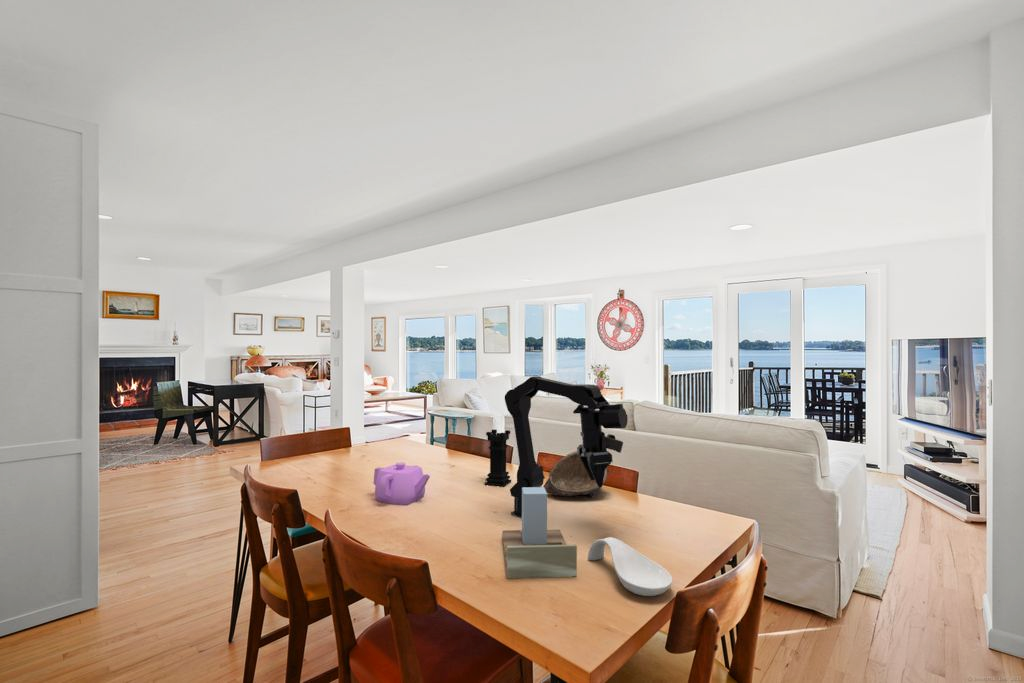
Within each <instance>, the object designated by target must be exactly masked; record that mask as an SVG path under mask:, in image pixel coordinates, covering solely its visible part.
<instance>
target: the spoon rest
mask: <svg viewBox="0 0 1024 683" xmlns="http://www.w3.org/2000/svg"><path fill="white" fill-rule="evenodd" d="M606 545H607V546H608V548H609V549H610V553H611V557H612V561H613V562H612V564H613V567H614V571H615V573H616V576H617V578H618V579H619V581H620V583H621V585H623V587H624V588H625V589H626V590H628V591H629V592H631V593H633V594H635V595H637V594H638V596H641V595H642V596H643V597H655V596H658V595H661V594H663V593H665V592H666V591H667V590H668V589H670V587H671V586H672V585H673V577H672V575H671V573H670V572H669V571H668V570H667V569H666V568H664V567H663V566H661V565H660V564H658V563H657V562H655V561H654V560H652V559H650V558H649V557H647V556H645V555H644V554H642V553H641V552H639V551H637V550H636V549H634V548H633V547H631V546H629V545H628V544H626V543H625V542H623V541H621V540H620V539H619V538H615V537H611V536H609V537H605V538H599V539H596V540H595V541H594V542H593V543H592V544H591V545H590V547H589V550H588V554H587V560H588V561H590V560H594V561H597V559H598V560H602V559H604V558H605V556H604V555H605V546H606ZM601 558H602V559H601Z"/></svg>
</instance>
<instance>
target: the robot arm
mask: <svg viewBox="0 0 1024 683" xmlns="http://www.w3.org/2000/svg"><path fill="white" fill-rule="evenodd" d="M538 392H543V393H544V392H545V393H548V394H552V395H556V396H561V397H565V398H567V399H569V400H570V401H571V402H573V403H576V404H577V406H576V408H575V409H574V410H573V412H572V413H573V414H575V415H576V414H579V415H580V424H581V425H580V428H581V431H579V432H580V433H579V434H580V436H581V438H582V444H578V446H577V447H576V451H577V452H578V455H580V456H579V457H580V459H581V461H582V463H583V465H584V467H585V469H586V471H587V473H588V475H589V477H590V479H591V480H595V481H596V483H597V485H598V487H601V488H602V487H603V486H604V484H603V479H604V473H605V469H606V467H607V468H608V467H609V465H611V464H612V463H613V455H612V453H611V452H609V451H608V450H611V451H612V450H613V451H616V452H617V453H619V454H620V453H622V450H623V449H622V448H623V445H624V441H622V440H620V439H616V436H615V435H614V434H610V433H608V434H607V435H606V433H605V432H604V431H603V429H602V428H604V429H625V428H626V427H627V426H628V422H629V420H628V418H629V417H628V414H627V411H626V409H625V408H624V403H616V404H615V403H614V404H610V402H608V400H607V399H606V398H605V397H604V396H603V394H602V391H601V389H600V387H599V385H596V384H580V383H579V384H573V383H568V382H563V381H558V380H554V379H550V378H545V377H542V376H539V375H538V376H530V377H529V378H528V379H526V380H525V381H524V382H522V383H521V384H519V385H517V386H516V387H514V388H513V389H508V391H506V394H505V395H504V403H505V405H506V409H507V411H508V413H509V414H510V416H511V418H512V420H513V426H514V432H515V433H514V434H515V440H516V441H515V442H516V448H517V455H518V461H519V465H518V469H517V471H516V483H514V485H513V486H511V487H510V488H509V492H510V493H509V494H510V495H511V497H513V498H514V499H513V500H514V504H513V505H514V506H513V509H514V510H512V511H511V512H510V514H511V515H514V516H516V517H520V518H522V487H543V485H544V479H546V478H545V474H544V466H543V465H538V463H537V461H536V458H535V452H534V446H533V439H532V433H531V427H530V419H529V414H530V411H531V408H532V399H533V398H534V397H536V395H537V393H538ZM607 449H608V450H607ZM581 454H582V455H581Z"/></svg>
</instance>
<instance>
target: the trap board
mask: <svg viewBox="0 0 1024 683" xmlns="http://www.w3.org/2000/svg"><path fill="white" fill-rule="evenodd" d="M501 532H502V535H501V536H502V538H501V539H502V546H503V553H504V554H503V555H504V562H505V568H506V569H505V570H506V578H507V579H534V578H537V579H538V578H541V579H542V578H573V577H572V576H578V575H577V574H578V573H577V572H578V570H577V569H578V568H577V565H578V563H577V556H578V553H577V552H578V548H577V546H578V545H577V544H576V543H575V544H567V543H566V541H565V538H564V536H563V533H562V531H561V529H547V544H536V545H524V544H523V539H522V529H520V530H519V529H517V530H512V529H511V530H509V529H508V530H502V531H501Z"/></svg>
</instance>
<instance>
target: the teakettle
mask: <svg viewBox="0 0 1024 683" xmlns="http://www.w3.org/2000/svg"><path fill="white" fill-rule="evenodd" d="M430 478H431V474H427V473H424V471H423V468H422V467H420V466H419V465H407V464H406V462H397V463H395V464H393V465H389V466H386V467H376V468H374V473H373V484H374V485H375V488H374V497H375V500H376V502H380V503H383V504H389V505H398V506H409V505H411V504H413V503H415V502H417V501H419V500H421V499H422V498H424V496H425V494H426V485H427V483H428V481H429V479H430Z"/></svg>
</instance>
